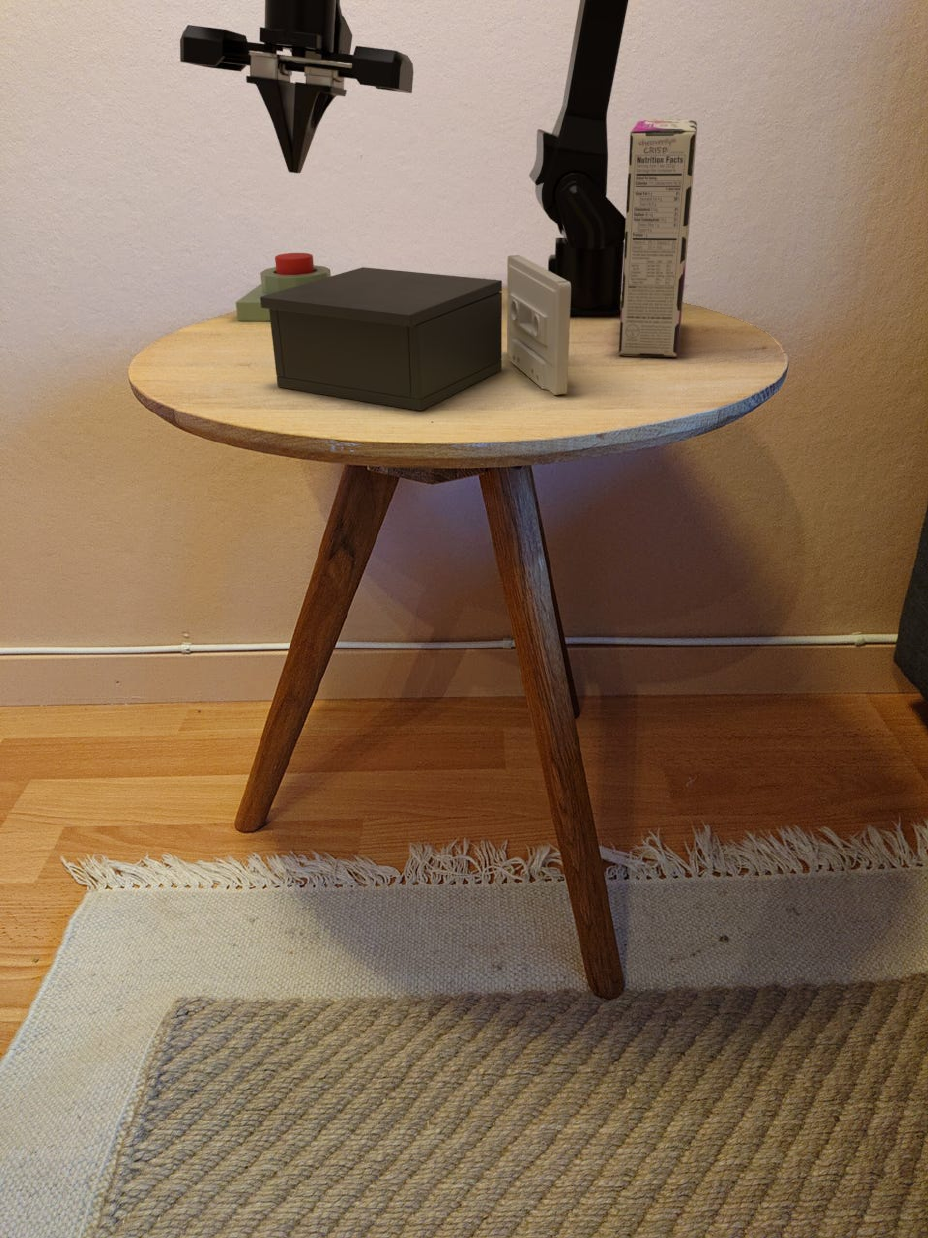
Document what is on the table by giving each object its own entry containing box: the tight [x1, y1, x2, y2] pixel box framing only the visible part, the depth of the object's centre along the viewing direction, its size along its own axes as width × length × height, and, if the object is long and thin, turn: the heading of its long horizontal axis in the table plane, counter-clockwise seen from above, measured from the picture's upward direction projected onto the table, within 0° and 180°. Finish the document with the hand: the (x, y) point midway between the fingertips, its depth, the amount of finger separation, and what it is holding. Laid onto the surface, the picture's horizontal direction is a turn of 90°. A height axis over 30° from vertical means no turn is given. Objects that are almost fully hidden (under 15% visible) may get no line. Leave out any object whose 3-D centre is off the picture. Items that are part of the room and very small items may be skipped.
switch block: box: [235, 264, 332, 322], centre depth 94 cm, size 11×9×4 cm
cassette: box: [506, 254, 571, 396], centre depth 71 cm, size 12×2×8 cm, turn 15°
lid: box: [260, 266, 503, 327], centre depth 69 cm, size 12×13×1 cm
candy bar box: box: [618, 118, 698, 358], centre depth 77 cm, size 11×5×16 cm, turn 168°
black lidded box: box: [269, 291, 503, 412], centre depth 71 cm, size 12×13×6 cm
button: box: [274, 252, 315, 275], centre depth 93 cm, size 4×4×2 cm
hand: (294, 172), depth 85 cm, fingers closed
